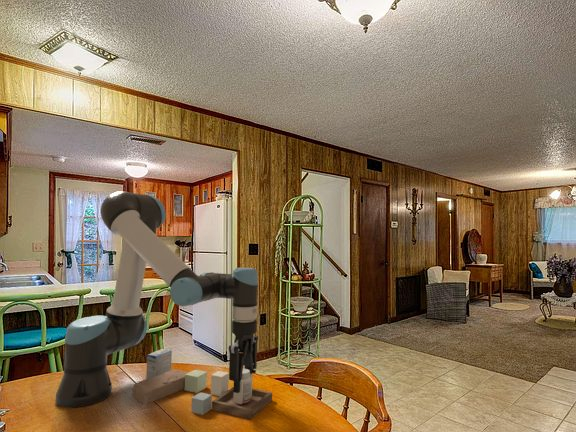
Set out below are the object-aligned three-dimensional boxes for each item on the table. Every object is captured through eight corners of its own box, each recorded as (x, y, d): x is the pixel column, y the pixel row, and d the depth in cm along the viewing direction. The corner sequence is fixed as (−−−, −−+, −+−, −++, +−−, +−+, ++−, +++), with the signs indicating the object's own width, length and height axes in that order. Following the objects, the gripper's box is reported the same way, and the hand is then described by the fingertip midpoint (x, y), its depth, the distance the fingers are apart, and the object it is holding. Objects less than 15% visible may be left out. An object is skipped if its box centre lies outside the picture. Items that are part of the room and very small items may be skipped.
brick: (146, 405, 107) (146, 389, 107) (130, 397, 112) (131, 382, 112) (191, 387, 120) (191, 373, 120) (175, 381, 125) (176, 367, 125)
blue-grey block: (191, 412, 102) (191, 397, 103) (200, 406, 106) (200, 392, 106) (202, 415, 101) (203, 400, 101) (211, 409, 104) (211, 394, 105)
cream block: (210, 394, 114) (211, 374, 115) (217, 389, 118) (218, 370, 118) (221, 396, 113) (221, 377, 113) (228, 391, 116) (228, 372, 117)
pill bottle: (252, 397, 109) (253, 369, 110) (247, 404, 104) (248, 374, 105) (238, 395, 110) (238, 367, 111) (232, 402, 106) (232, 373, 106)
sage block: (184, 390, 117) (185, 374, 117) (194, 384, 122) (194, 369, 122) (197, 393, 115) (197, 377, 115) (206, 387, 120) (207, 372, 120)
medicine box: (161, 372, 132) (162, 348, 133) (171, 374, 131) (172, 349, 131) (145, 380, 125) (146, 354, 126) (155, 382, 123) (156, 356, 124)
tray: (211, 409, 104) (212, 401, 104) (235, 392, 116) (235, 385, 116) (251, 419, 99) (251, 410, 99) (272, 400, 111) (272, 392, 111)
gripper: (239, 327, 99) (237, 414, 98) (268, 315, 115) (267, 390, 114) (217, 324, 102) (214, 409, 101) (248, 313, 118) (246, 385, 117)
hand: (242, 398), depth 107 cm, fingers closed on pill bottle, 5 cm apart
